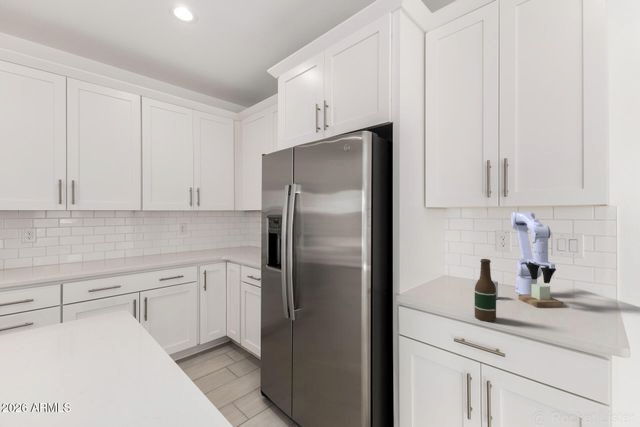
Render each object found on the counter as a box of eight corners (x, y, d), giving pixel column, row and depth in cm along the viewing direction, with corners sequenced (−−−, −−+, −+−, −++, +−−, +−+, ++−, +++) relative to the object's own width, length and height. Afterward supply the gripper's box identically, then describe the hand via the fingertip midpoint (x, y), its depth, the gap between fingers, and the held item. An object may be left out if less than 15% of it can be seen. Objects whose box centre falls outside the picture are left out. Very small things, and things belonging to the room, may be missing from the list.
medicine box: (493, 296, 151) (493, 279, 151) (498, 299, 147) (498, 281, 147) (477, 296, 152) (477, 279, 152) (481, 298, 148) (481, 281, 148)
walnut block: (518, 300, 146) (518, 294, 146) (542, 300, 146) (542, 294, 146) (537, 308, 134) (537, 302, 134) (563, 308, 134) (563, 301, 134)
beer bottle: (488, 323, 116) (488, 261, 115) (470, 317, 123) (470, 258, 122) (500, 320, 119) (501, 259, 119) (482, 314, 126) (482, 257, 126)
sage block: (531, 296, 143) (531, 284, 143) (541, 296, 143) (541, 283, 143) (539, 299, 138) (539, 286, 138) (550, 299, 138) (550, 286, 138)
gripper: (521, 250, 147) (521, 277, 147) (544, 254, 132) (544, 285, 133) (535, 250, 147) (535, 277, 147) (559, 254, 133) (559, 284, 133)
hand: (540, 281), depth 140 cm, fingers open, 7 cm apart
